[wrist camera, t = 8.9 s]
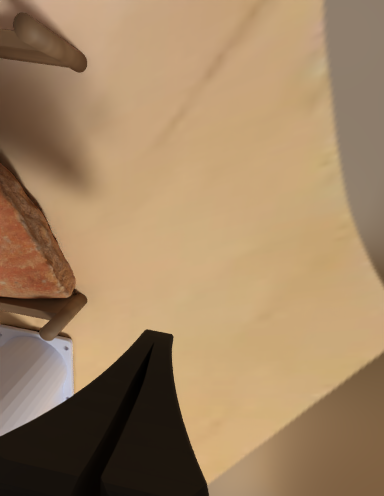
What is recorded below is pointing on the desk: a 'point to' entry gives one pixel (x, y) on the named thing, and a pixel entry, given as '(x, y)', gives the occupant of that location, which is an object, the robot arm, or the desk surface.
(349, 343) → the desk surface
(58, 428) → the robot arm
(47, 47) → the wooden square frame
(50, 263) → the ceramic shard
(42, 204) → the desk surface
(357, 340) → the desk surface
